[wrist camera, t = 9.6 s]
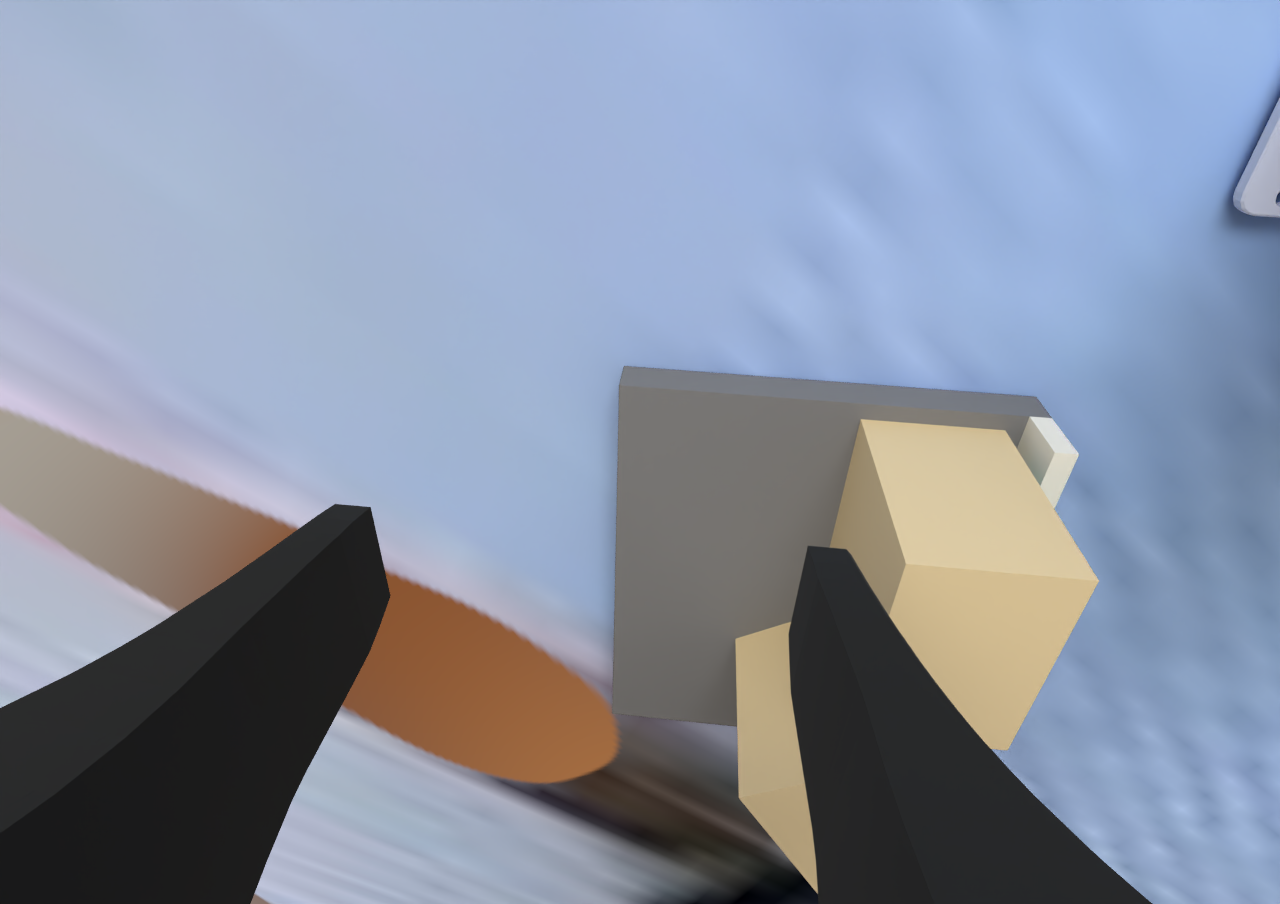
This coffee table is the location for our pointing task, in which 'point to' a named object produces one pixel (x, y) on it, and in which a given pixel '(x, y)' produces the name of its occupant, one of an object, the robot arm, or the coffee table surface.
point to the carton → (772, 746)
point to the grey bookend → (750, 512)
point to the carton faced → (964, 562)
